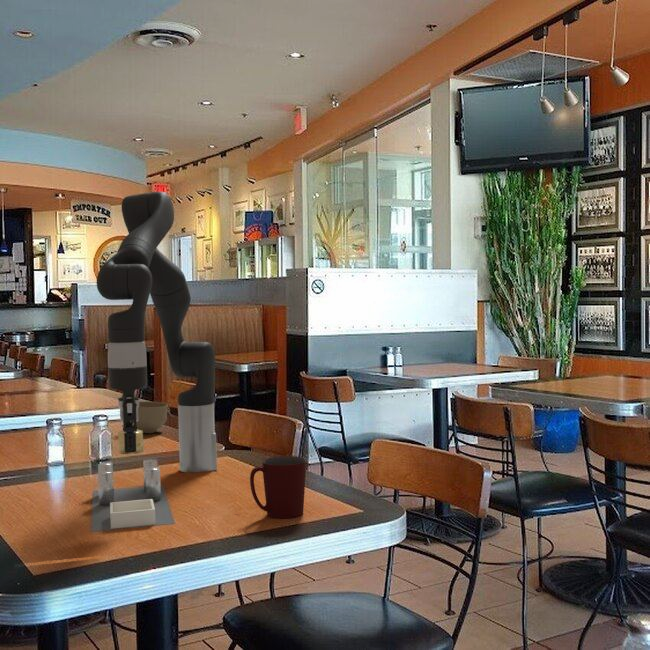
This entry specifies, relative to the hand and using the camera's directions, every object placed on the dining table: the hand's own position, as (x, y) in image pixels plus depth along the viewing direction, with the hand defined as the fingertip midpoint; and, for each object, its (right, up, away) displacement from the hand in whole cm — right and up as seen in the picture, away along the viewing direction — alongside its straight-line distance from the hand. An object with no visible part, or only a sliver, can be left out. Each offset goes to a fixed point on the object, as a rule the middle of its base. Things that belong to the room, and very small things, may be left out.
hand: (130, 449), depth 161 cm
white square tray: (0, -14, +1) cm, 14 cm away
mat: (-3, -14, +12) cm, 19 cm away
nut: (0, 0, 0) cm, 1 cm away
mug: (+29, -14, +4) cm, 33 cm away
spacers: (-5, -14, +19) cm, 24 cm away
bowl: (-19, -11, +107) cm, 109 cm away
